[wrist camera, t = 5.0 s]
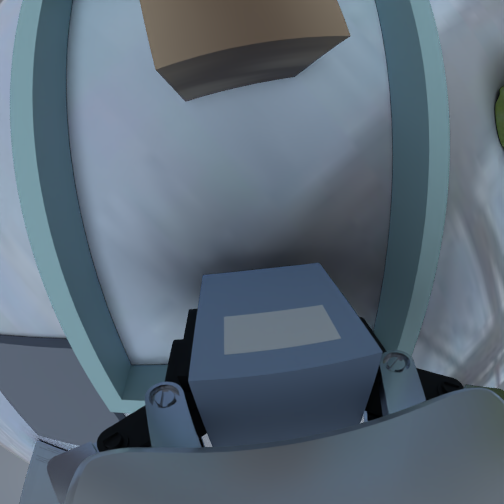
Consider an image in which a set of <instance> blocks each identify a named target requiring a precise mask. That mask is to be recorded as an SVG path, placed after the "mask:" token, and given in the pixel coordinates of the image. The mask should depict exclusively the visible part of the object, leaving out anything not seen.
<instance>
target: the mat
mask: <svg viewBox="0 0 504 504" xmlns="http://www.w3.org/2000/svg"><path fill="white" fill-rule="evenodd" d="M0 391H1V392H2V394H3V395H4V396H5V398H6V399H7V400H8V401H9V403H10V404H11V405H12V406H13V407H14V409H15V410H16V411H17V412H18V413H19V415H20V416H21V417H22V418H23V419H24V420H25V421H26V423H27V424H28V425H29V426H30V427H31V428H32V429H33V430H34V431H35V432H36V433H37V434H38V435H40V436H43V437H47V438H50V439H54V440H58V441H62V442H66V443H70V444H75V445H80V446H81V445H83V444H86V443H88V442H90V441H91V442H92V443H95V442H97V439H98V437H99V435H100V434H101V433H102V432H103V431H104V430H105V429H107V428H109V427H111V426H112V425H114V424H115V423H117V422H119V421H120V420H122V419H124V418H125V416H124V414H123V413H118V412H110V410H109V409H108V407H107V406H106V404H105V403H104V401H103V400H102V398H101V397H100V395H99V394H98V392H97V391H96V389H95V387H94V386H93V384H92V383H91V381H90V379H89V378H88V376H87V374H86V373H85V371H84V369H83V367H82V366H81V364H80V362H79V360H78V358H77V357H76V355H75V353H74V351H73V349H72V347H71V345H70V343H69V341H68V339H59V338H36V337H20V336H7V335H0Z"/></svg>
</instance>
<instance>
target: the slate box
mask: <svg viewBox="0 0 504 504" xmlns="http://www.w3.org/2000/svg"><path fill="white" fill-rule="evenodd" d="M382 353H383V352H382V350H381V349H380V347H379V346H378V344H377V343H376V341H375V340H374V338H373V337H372V335H371V334H370V333H369V331H368V330H367V328H366V327H365V325H364V324H363V322H362V321H361V320H360V318H359V317H358V315H357V314H356V313H355V311H354V310H353V308H352V307H351V306H350V304H349V303H348V301H347V300H346V299H345V297H344V296H343V294H342V293H341V292H340V290H339V289H338V288H337V286H336V285H335V283H334V282H333V281H332V279H331V278H330V277H329V275H328V274H327V273H326V271H325V270H324V269H323V267H322V266H321V265H320V263H312V264H303V265H294V266H285V267H276V268H267V269H257V270H248V271H238V272H228V273H218V274H208V275H203V278H202V285H201V291H200V297H199V304H198V310H197V317H196V324H195V331H194V339H193V346H192V354H191V362H190V370H189V378H188V382H189V385H190V388H191V391H192V394H193V396H194V399H195V402H196V405H197V408H198V410H199V413H200V416H201V418H202V421H203V424H204V426H205V429H206V431H207V434H208V436H209V439H210V441H211V444H212V446H213V447H225V446H240V445H251V444H260V443H268V442H275V441H282V440H289V439H295V438H300V437H306V436H311V435H316V434H321V433H325V432H330V431H334V430H338V429H342V428H346V427H350V426H353V425H357V424H360V422H361V419H362V416H363V413H364V411H365V408H366V405H367V402H368V399H369V396H370V393H371V390H372V387H373V384H374V381H375V377H376V374H377V371H378V367H379V364H380V360H381V357H382Z"/></svg>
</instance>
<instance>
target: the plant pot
mask: <svg viewBox="0 0 504 504" xmlns="http://www.w3.org/2000/svg"><path fill="white" fill-rule="evenodd" d="M499 91H500V95H499V98H498V100H497V102H496V105H495V116H496V125H497V131H498V135H499V139H500V142H501V144H502V146H503V147H504V86H503V87H501V89H500V90H499Z"/></svg>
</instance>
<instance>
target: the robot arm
mask: <svg viewBox="0 0 504 504" xmlns="http://www.w3.org/2000/svg"><path fill="white" fill-rule="evenodd" d="M343 296H344V295H343ZM345 299H346V298H345ZM346 300H347V299H346ZM348 303H349V302H348ZM350 306H351V305H350ZM351 307H352V306H351ZM197 310H198V309H190V310H189V313H188V318H187V323H186V328H185V334H184V339H181V340H174V341H173V344H172V348H171V353H170V358H169V362H168V367H167V372H166V377H165V382H160V383H157V384H155V385H153V386H151V387H150V388H149V389H148V390H147V392H146V394H145V405H144V406H143V407H141V408H140V409H138V410H137V411H135V412H133V413H132V414H130V415H129V416H127V417H125V418H124V419H122V420H120V421H119V422H117V423H115V424H114V425H112V426H111V427H109V428H107V429H105V430H104V431H103V432H102V433H101V434H100V435H99V437H98V439H97V442H95V443H92V442H91V441H90V442H88V443H86V444H83V445H81V446H79V447H76V448H74V449H71V450H69V451H67V452H64V453H62V454H59V455H57V456H54V457H53V458H51V459H50V461H49V462H48V465H47V472H48V475H49V478H50V481H51V484H52V486H53V489H54V491H55V494H56V496H57V499H58V501H59V504H504V391H503V390H501V389H497V388H489V387H481V386H473V385H465V387H463V386H462V384H461V383H460V382H459V381H458V380H456V379H454V378H451V377H447V376H443V375H440V374H436V373H432V372H429V371H425V370H422V369H418V368H416V366H415V363H414V360H413V359H412V357H411V356H410V355H409V354H408V353H406V352H404V351H400V350H390V351H386V350H385V348H384V347H383V345H382V344H381V342H380V341H379V339H378V338H377V337H376V335H375V334H374V332H373V331H372V330H371V328H370V327H369V325H368V324H367V323H366V321H365V320H364V319H363V318H362V317H359V316H358V317H359V318H360V320H361V321H362V322H363V324H364V325H365V327H366V328H367V330H368V331H369V333H370V334H371V335H372V337H373V338H374V340H375V341H376V343H377V344H378V346H379V347H380V349H381V350H382V352H383V353H382V357H381V360H380V364H379V367H378V371H377V374H376V377H375V381H374V384H373V387H372V390H371V393H370V396H369V399H368V402H367V405H366V408H365V411H364V413H363V414H364V423H360V424H357V425H353V426H350V427H346V428H342V429H338V430H334V431H330V432H325V433H321V434H316V435H311V436H306V437H300V438H295V439H289V440H282V441H275V442H268V443H260V444H251V445H240V446H225V447H205V445H204V442H203V439H202V436H203V435H205V434H206V433H207V431H206V429H205V426H204V424H203V421H202V418H201V416H200V413H199V410H198V408H197V405H196V402H195V399H194V396H193V394H192V391H191V388H190V385H189V382H188V378H189V370H190V362H191V354H192V346H193V339H194V331H195V324H196V317H197ZM353 310H354V309H353ZM355 313H356V312H355ZM356 314H357V313H356Z"/></svg>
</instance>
